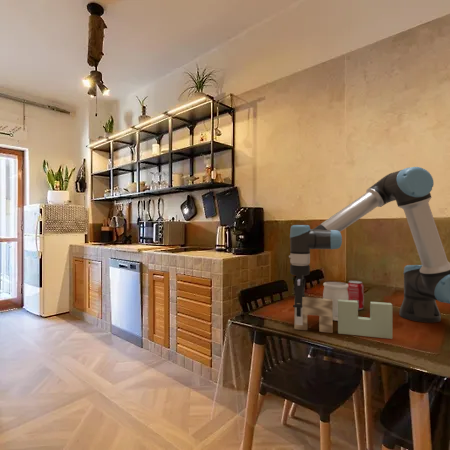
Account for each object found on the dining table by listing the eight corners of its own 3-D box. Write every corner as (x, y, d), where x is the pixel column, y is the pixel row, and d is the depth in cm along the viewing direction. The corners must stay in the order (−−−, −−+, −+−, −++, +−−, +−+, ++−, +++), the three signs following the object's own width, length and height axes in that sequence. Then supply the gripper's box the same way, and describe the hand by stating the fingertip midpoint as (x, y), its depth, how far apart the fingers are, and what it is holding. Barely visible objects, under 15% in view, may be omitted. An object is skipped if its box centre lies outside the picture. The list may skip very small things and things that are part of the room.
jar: (328, 313, 138) (328, 280, 138) (351, 317, 131) (351, 283, 132) (319, 318, 130) (319, 284, 130) (343, 323, 123) (343, 287, 123)
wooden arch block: (332, 330, 116) (332, 298, 116) (332, 332, 113) (332, 300, 113) (295, 326, 120) (294, 296, 120) (294, 329, 117) (294, 298, 117)
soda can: (365, 311, 142) (365, 283, 142) (349, 310, 143) (349, 282, 143) (361, 307, 148) (361, 280, 149) (346, 306, 150) (346, 280, 150)
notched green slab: (390, 335, 109) (390, 302, 110) (392, 338, 107) (392, 305, 107) (337, 330, 115) (337, 299, 115) (338, 333, 112) (338, 301, 112)
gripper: (292, 260, 130) (292, 310, 130) (286, 267, 107) (286, 328, 107) (310, 261, 128) (310, 312, 128) (308, 268, 105) (308, 330, 105)
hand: (299, 319), depth 118 cm, fingers open, 12 cm apart
